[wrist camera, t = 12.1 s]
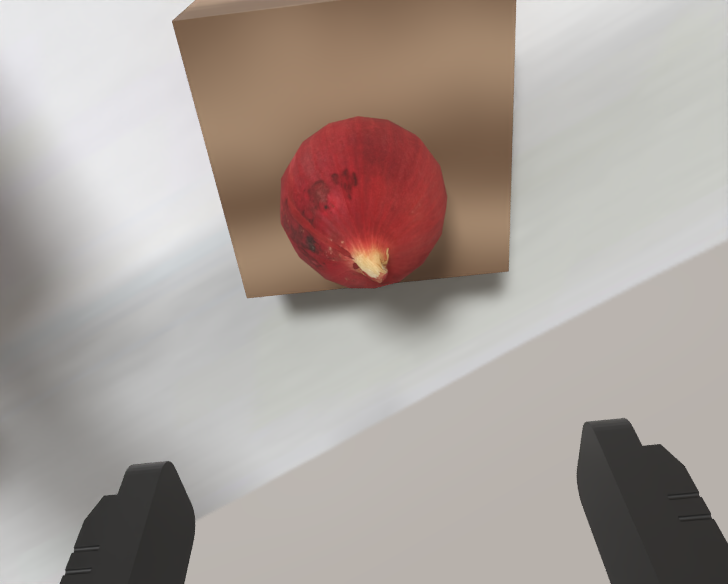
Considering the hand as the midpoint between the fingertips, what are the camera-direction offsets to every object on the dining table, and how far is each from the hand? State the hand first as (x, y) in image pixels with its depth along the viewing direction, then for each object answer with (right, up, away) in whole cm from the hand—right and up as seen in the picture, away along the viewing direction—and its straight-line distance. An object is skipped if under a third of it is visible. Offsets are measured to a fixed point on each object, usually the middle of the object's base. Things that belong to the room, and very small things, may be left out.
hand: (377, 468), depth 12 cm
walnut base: (0, +11, +17) cm, 20 cm away
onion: (0, +9, +13) cm, 16 cm away
